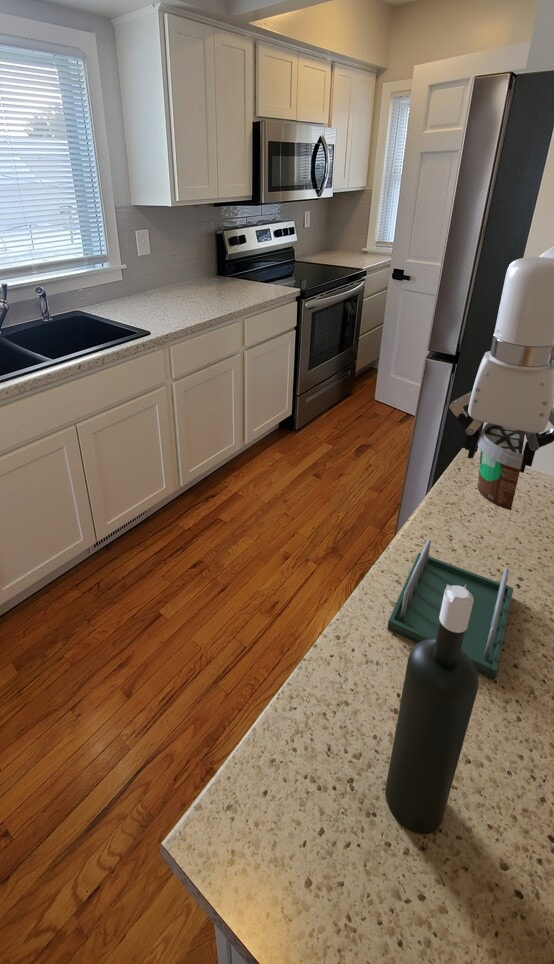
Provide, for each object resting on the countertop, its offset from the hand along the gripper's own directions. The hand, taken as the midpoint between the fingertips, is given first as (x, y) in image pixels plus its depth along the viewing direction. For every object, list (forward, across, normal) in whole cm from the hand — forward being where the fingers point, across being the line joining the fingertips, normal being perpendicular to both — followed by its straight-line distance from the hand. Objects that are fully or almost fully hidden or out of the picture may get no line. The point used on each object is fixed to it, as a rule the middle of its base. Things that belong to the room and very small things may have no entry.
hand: (496, 460), depth 74 cm
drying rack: (+20, +1, +14) cm, 24 cm away
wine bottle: (+20, -2, +41) cm, 45 cm away
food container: (+5, 0, 0) cm, 5 cm away
